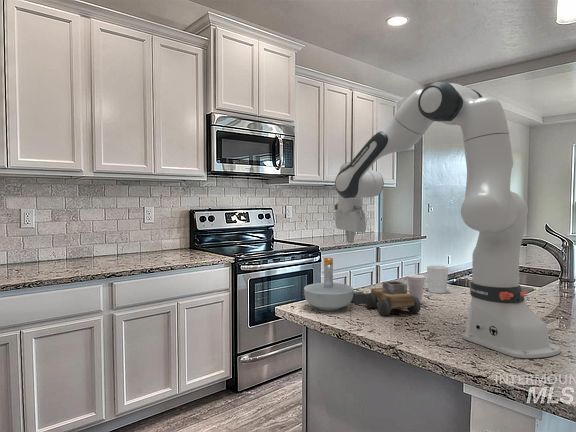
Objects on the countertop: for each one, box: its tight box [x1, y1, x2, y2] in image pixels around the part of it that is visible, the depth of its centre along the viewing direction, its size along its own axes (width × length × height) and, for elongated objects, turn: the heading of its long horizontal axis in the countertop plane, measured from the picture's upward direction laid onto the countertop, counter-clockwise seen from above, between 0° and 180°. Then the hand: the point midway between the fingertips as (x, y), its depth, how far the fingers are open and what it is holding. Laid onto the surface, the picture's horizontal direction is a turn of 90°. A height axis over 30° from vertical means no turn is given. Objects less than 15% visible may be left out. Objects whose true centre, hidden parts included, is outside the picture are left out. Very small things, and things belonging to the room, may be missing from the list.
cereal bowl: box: [303, 282, 354, 312], centre depth 137 cm, size 17×17×7 cm
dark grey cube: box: [350, 291, 367, 305], centre depth 144 cm, size 4×4×4 cm
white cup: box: [426, 264, 449, 294], centre depth 160 cm, size 8×8×10 cm
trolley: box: [365, 280, 422, 316], centre depth 134 cm, size 14×13×9 cm
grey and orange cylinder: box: [323, 257, 334, 288], centre depth 137 cm, size 3×3×10 cm
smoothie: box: [406, 263, 426, 305], centre depth 143 cm, size 6×6×14 cm
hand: (350, 242), depth 151 cm, fingers closed
